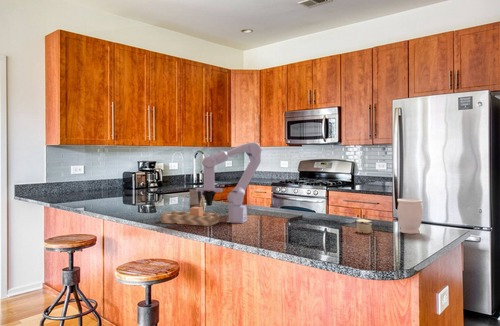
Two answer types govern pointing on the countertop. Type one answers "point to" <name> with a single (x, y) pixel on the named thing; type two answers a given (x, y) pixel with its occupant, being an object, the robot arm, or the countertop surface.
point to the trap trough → (189, 218)
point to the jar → (409, 215)
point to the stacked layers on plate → (363, 226)
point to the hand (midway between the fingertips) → (209, 205)
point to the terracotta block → (196, 211)
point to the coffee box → (196, 199)
